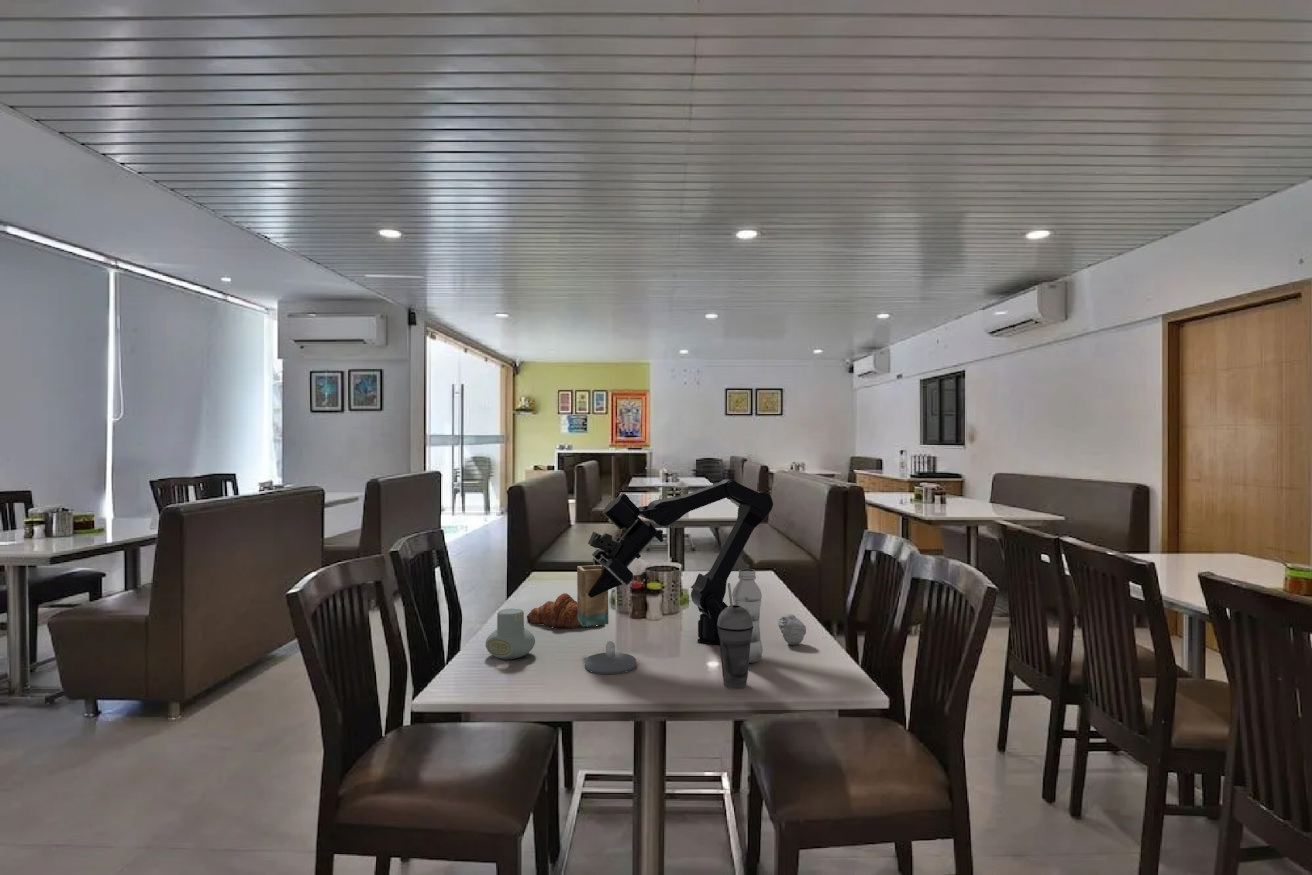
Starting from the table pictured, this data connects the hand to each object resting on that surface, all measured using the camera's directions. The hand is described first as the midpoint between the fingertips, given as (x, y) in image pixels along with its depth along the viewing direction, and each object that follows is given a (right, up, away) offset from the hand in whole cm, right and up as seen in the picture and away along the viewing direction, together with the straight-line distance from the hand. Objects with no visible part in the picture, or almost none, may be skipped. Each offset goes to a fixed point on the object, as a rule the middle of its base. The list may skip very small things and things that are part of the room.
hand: (586, 593), depth 154 cm
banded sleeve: (+1, -7, 0) cm, 7 cm away
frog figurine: (+49, -14, +6) cm, 51 cm away
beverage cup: (+32, -13, -21) cm, 40 cm away
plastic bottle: (+36, -14, -7) cm, 39 cm away
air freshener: (-17, -14, -3) cm, 22 cm away
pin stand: (+6, -13, -10) cm, 18 cm away
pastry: (-8, -14, +25) cm, 30 cm away
